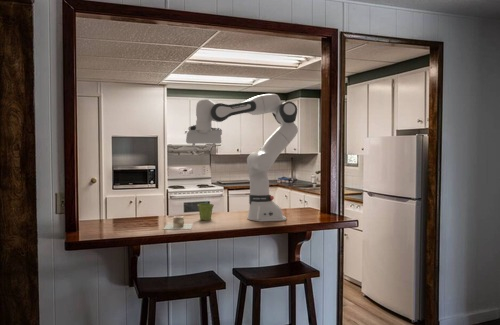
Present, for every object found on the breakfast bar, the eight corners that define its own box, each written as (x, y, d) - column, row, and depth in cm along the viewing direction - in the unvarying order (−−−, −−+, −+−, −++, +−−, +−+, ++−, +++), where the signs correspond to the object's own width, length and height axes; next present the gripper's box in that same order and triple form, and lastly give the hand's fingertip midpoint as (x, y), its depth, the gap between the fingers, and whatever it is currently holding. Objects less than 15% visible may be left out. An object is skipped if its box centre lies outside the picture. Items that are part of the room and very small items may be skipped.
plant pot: (211, 218, 250) (211, 203, 249) (215, 220, 241) (215, 205, 241) (196, 219, 247) (195, 204, 246) (199, 221, 238) (199, 206, 238)
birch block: (184, 225, 225) (184, 216, 225) (183, 227, 220) (182, 217, 220) (174, 225, 225) (174, 216, 224) (173, 227, 220) (173, 217, 219)
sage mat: (193, 224, 230) (193, 223, 230) (190, 229, 216) (190, 228, 216) (167, 224, 229) (167, 224, 229) (163, 229, 215) (163, 229, 215)
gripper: (222, 127, 249) (222, 151, 249) (186, 127, 248) (186, 151, 248) (221, 127, 242) (221, 151, 243) (185, 127, 241) (185, 151, 242)
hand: (203, 151), depth 245 cm, fingers open, 8 cm apart
